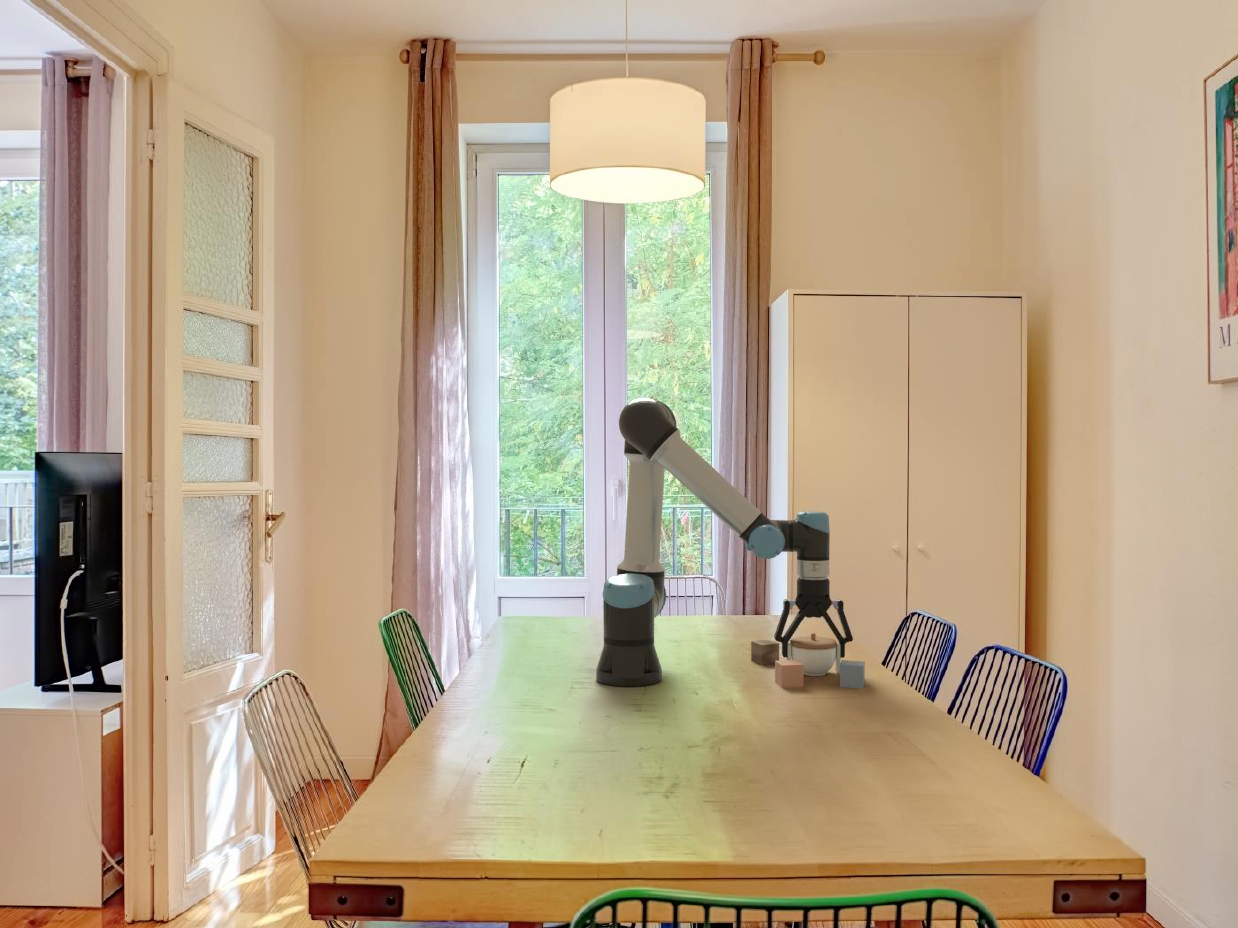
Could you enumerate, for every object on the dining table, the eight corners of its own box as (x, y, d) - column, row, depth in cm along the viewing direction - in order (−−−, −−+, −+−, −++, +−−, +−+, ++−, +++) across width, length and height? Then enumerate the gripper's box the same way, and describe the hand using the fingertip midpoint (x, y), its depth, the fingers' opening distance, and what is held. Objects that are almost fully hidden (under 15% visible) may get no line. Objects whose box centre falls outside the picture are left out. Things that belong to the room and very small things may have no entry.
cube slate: (839, 687, 218) (839, 664, 218) (841, 681, 223) (841, 659, 223) (863, 688, 216) (863, 666, 216) (864, 683, 221) (864, 661, 221)
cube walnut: (761, 665, 240) (761, 644, 240) (751, 661, 245) (751, 641, 245) (779, 663, 242) (779, 643, 242) (768, 659, 247) (768, 639, 246)
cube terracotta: (781, 687, 217) (781, 665, 217) (775, 682, 222) (775, 660, 222) (803, 687, 218) (803, 664, 218) (796, 681, 223) (796, 659, 223)
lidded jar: (824, 680, 223) (824, 639, 223) (781, 674, 230) (782, 634, 230) (844, 672, 232) (844, 632, 232) (802, 666, 238) (802, 627, 238)
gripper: (765, 579, 227) (765, 674, 228) (866, 579, 226) (866, 675, 227) (761, 575, 235) (762, 667, 235) (859, 575, 234) (860, 667, 234)
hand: (813, 671), depth 231 cm, fingers closed on lidded jar, 11 cm apart
